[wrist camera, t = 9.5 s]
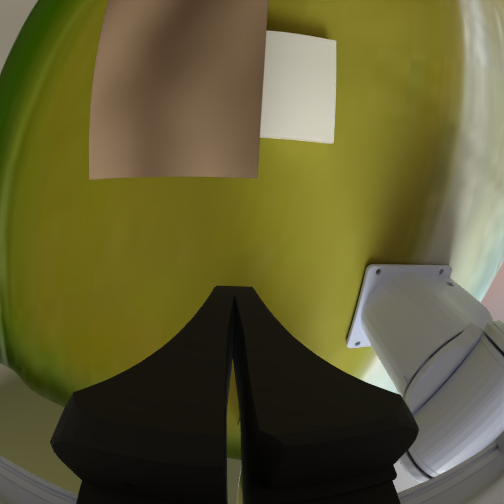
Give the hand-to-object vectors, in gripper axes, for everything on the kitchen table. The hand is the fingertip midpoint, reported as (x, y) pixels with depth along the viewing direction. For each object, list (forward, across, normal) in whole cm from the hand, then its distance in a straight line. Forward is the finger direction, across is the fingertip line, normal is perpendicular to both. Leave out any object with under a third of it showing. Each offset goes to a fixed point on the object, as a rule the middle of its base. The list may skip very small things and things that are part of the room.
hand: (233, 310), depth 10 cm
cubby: (+9, +4, -10) cm, 14 cm away
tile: (+10, 0, -10) cm, 14 cm away
